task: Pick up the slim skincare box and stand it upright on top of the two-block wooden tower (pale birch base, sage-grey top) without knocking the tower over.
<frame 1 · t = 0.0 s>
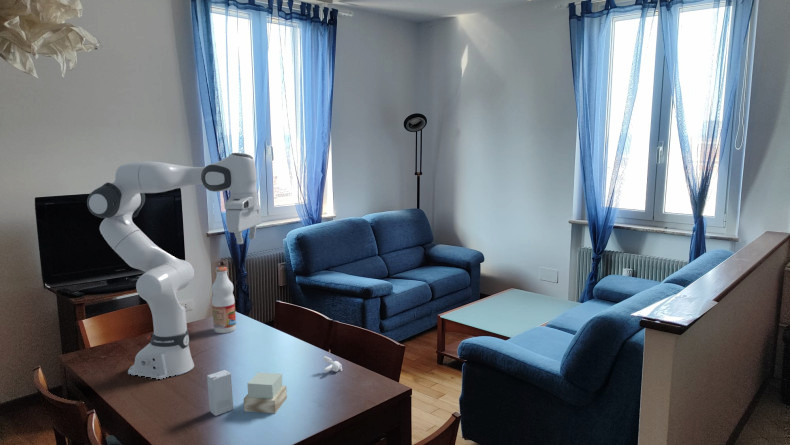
hand: (246, 241, 185), 48 cm above the table, tool pointing down, fingers open, 8 cm apart
birch base block: (266, 405, 170), on the table, touching sage top block
rabbit figurine: (331, 372, 193), on the table
fruit juice: (225, 330, 237), on the table
sage top block: (265, 392, 169), point 4 cm above the table, touching birch base block
skincare box: (221, 411, 166), on the table
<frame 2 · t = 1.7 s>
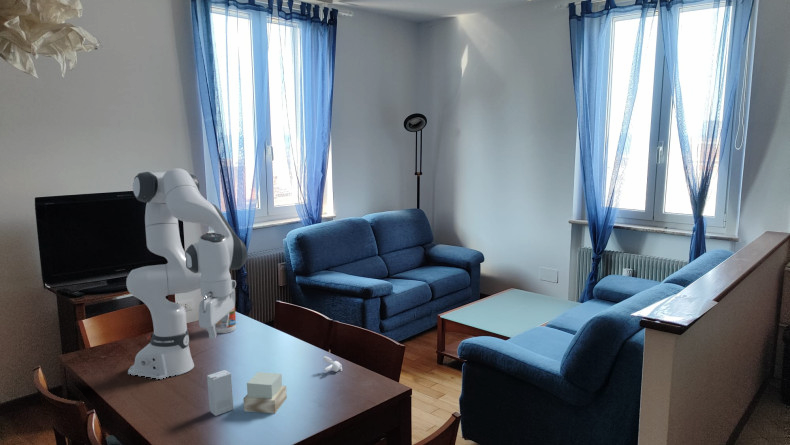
hand: (219, 332, 163), 25 cm above the table, tool pointing down, fingers open, 8 cm apart
nothing on the table moved.
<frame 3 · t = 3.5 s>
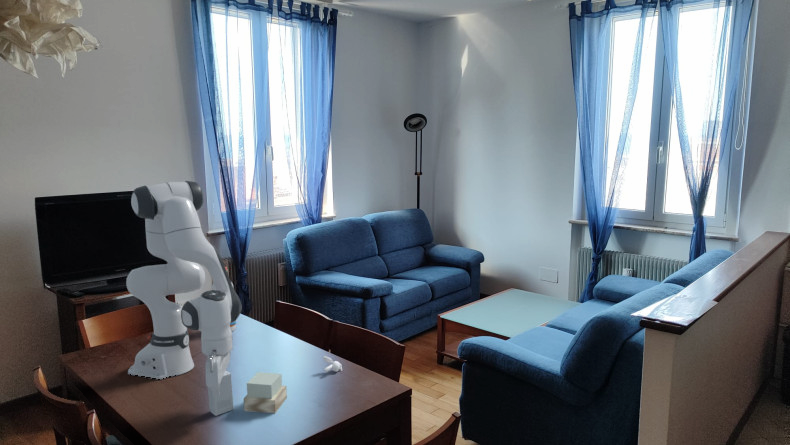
hand: (219, 388, 164), 8 cm above the table, tool pointing down, fingers open, 8 cm apart
nothing on the table moved.
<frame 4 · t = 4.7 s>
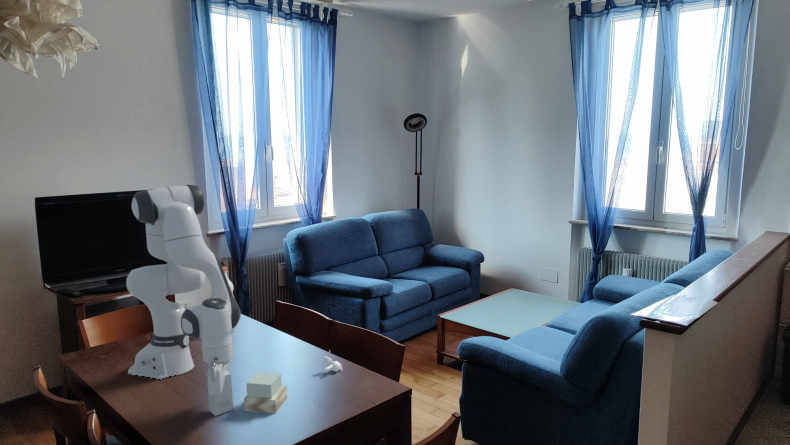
hand: (220, 395, 165), 5 cm above the table, tool pointing down, fingers closed on skincare box, 6 cm apart
birch base block: (266, 405, 170), on the table
sage top block: (264, 391, 170), point 4 cm above the table
skincare box: (221, 411, 166), on the table, touching gripper
everything else where it was.
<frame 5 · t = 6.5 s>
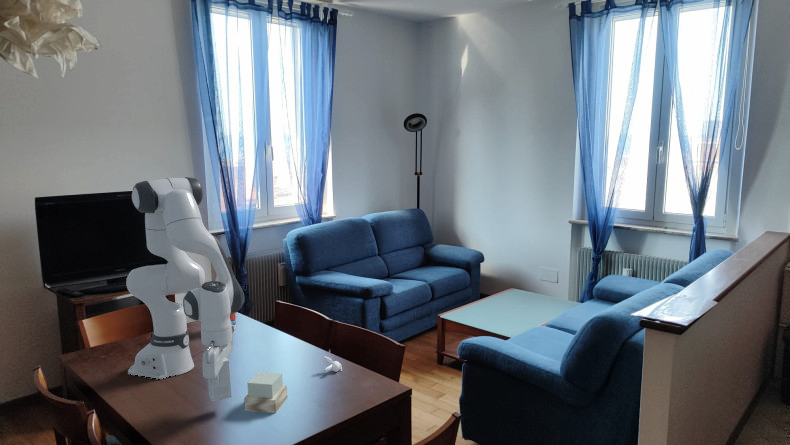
hand: (219, 378, 165), 10 cm above the table, tool pointing down, fingers closed on skincare box, 6 cm apart
birch base block: (266, 405, 170), on the table, touching sage top block
sage top block: (265, 391, 170), point 4 cm above the table, touching birch base block
skincare box: (220, 398, 165), point 4 cm above the table, touching gripper
everything else where it was.
when the fingers open (16 cm above the table, at t = 12.4 s): skincare box moves 1 cm, resting on sage top block.
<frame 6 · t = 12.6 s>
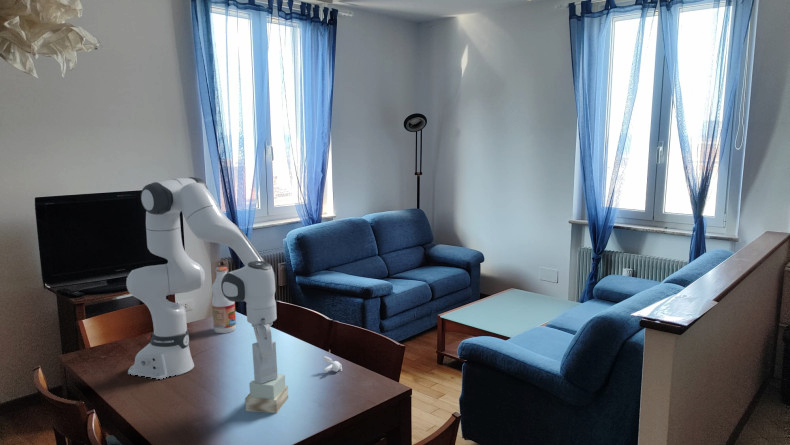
hand: (263, 357, 168), 16 cm above the table, tool pointing down, fingers open, 8 cm apart
sage top block: (268, 392, 169), point 4 cm above the table, touching birch base block, skincare box
skincare box: (266, 380, 168), point 8 cm above the table, touching gripper, sage top block
everything else where it was.
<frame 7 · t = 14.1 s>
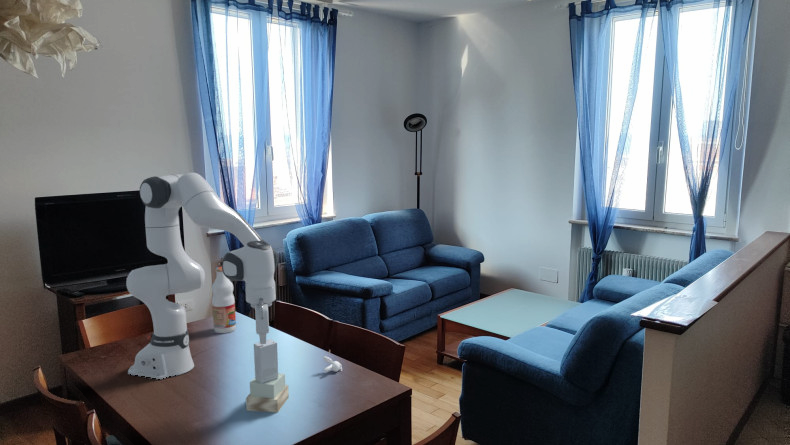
hand: (262, 337, 167), 22 cm above the table, tool pointing down, fingers open, 8 cm apart
birch base block: (268, 404, 171), on the table
sage top block: (268, 391, 170), point 4 cm above the table, touching skincare box
skincare box: (266, 379, 168), point 8 cm above the table, touching sage top block
everything else where it was.
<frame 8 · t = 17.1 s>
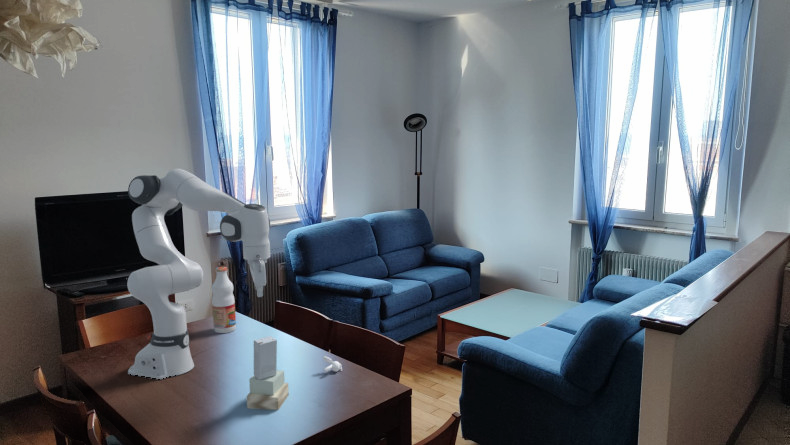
hand: (258, 292, 183), 31 cm above the table, tool pointing down, fingers open, 8 cm apart
birch base block: (268, 402, 172), on the table, touching sage top block
sage top block: (267, 388, 172), point 4 cm above the table, touching birch base block, skincare box
skincare box: (264, 376, 170), point 9 cm above the table, touching sage top block
everything else where it was.
at the end: skincare box 1.1 cm off-centre on the sage top block, point 4.3 cm above the sage top block's base; skincare box tilted 1°; sage top block 0.9 cm off-centre on the birch base block, point 4.5 cm above the birch base block's base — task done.
